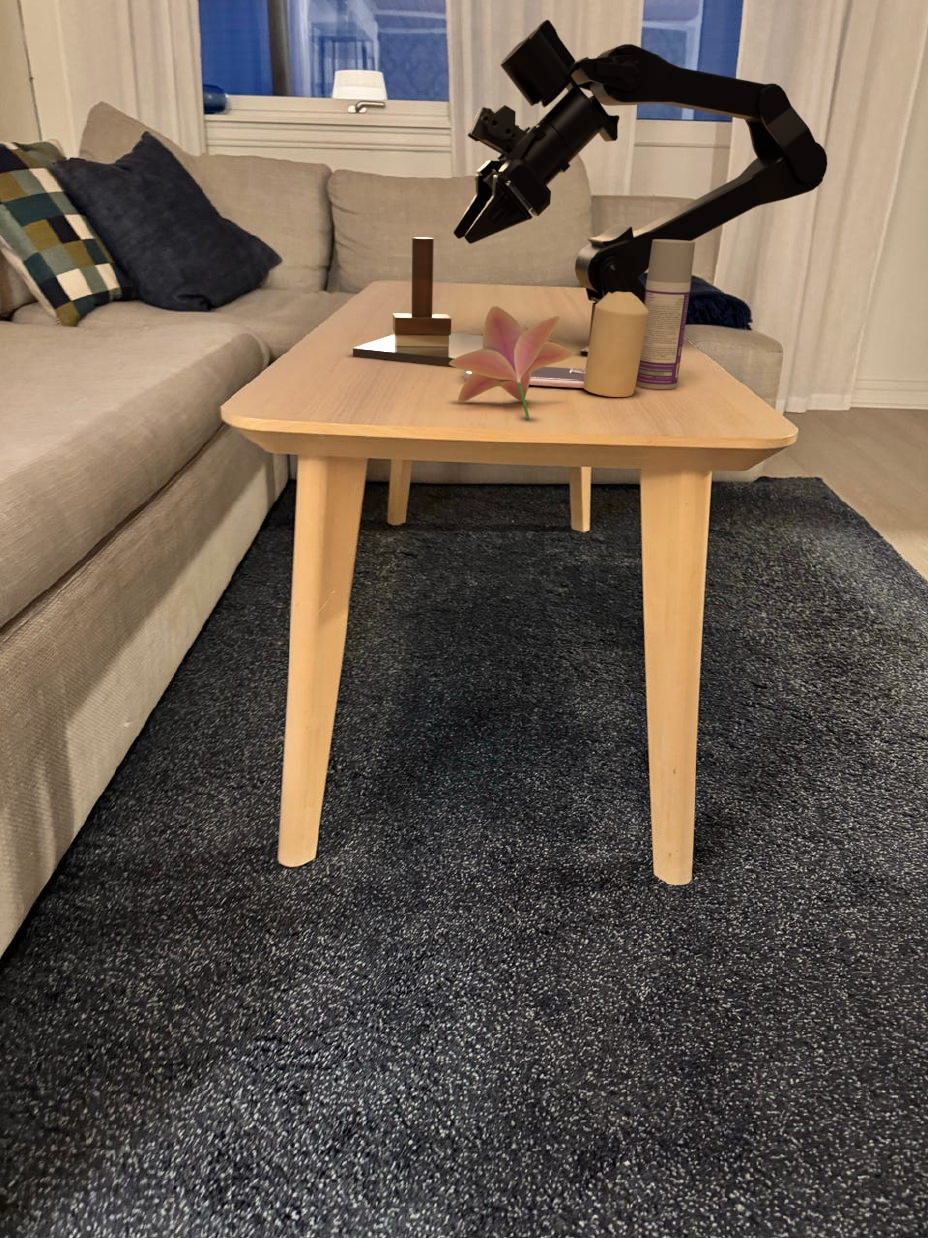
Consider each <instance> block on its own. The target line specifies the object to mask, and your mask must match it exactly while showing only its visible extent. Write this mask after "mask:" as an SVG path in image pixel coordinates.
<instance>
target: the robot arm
mask: <svg viewBox="0 0 928 1238" xmlns="http://www.w3.org/2000/svg"><path fill="white" fill-rule="evenodd" d="M499 66H500V67H501V69H503V71H504V73H505V74H506V76H508V78H509V79H510V80H511V82H512V83H513V84H514V86H515V87H516V88H517V90H518V91H519V92H520V94H521V95H522V96H523V97H524V99H525V100H526V102H528V104H529V105H530V107H533V106H535V105H538V104H539V103H540V105H541V106H542V107H543V108H547V107H548V106H549V105H551V103H552V102H554V101H555V100H556V99H557V98H558V97H559V96H560V95H561V94H562V93H563V92H564V91H565V89H566V90H567V92H566V93H565V94H563V96H562V97H561V98H560V99H559V100H558V101H557V102H556V103H555V104H554V106H552V107H551V109H550V110H549V111H548V112H547V113H546V114H545V115H544V116H543V117H542V118H541V119H540V120H539V121H538V122H537V123H536V124H535V125H532V126H527V127H525V129H522V128H520V125H518V124H516V114H517V113H516V110H514V109H513V108H511V107H509V106H508V105H505V104H504V105H501V106H500V107H499V108H497V109H496V110H495V111H493V109H492V108H490V107H485V106H483V107H480V108H478V110H477V112H476V115H475V117H474V119H473V121H472V123H471V126H470V128H469V131H468V133H467V137H468V138H470V139H471V140H473V141H474V142H480V143H481V144H483V145H485V146H486V147H488V148H490V149H492V150H493V151H495V152H497V153H499V155H498V156H497V157H496V158H497V160H486V161H485V162H484V163H483V164H482V165H481V166H480V167H479V168H478V169H477V170H476V174H475V177H474V181H475V194H474V197H473V198H472V199H471V201H470V203H469V205H468V206H467V208H466V210H465V212H464V213H463V215H462V217H461V218H460V220H459V222H458V223H457V225H456V226H455V228H454V230H453V231H452V232H453V235H454V236H455V237H456V238H457V239H458V240H460V239H462V238H464V239H465V241H466V242H467V243H468V244H470V245H472V244H474V243H478V242H479V241H482V240H484V239H486V238H488V237H490V236H494V235H495V234H498V233H500V232H502V231H504V230H507V229H511V228H512V227H515V226H517V225H519V224H522V223H524V222H527V221H530V220H532V219H533V218H534V217H533V216H535V217H540V215H541V214H542V213H543V212H544V211H545V210H546V209H547V208H548V207H549V206H550V205H551V199H552V191H551V189H550V188H549V187H548V185H549V184H550V183H551V182H552V181H553V180H554V179H555V178H556V177H557V176H558V175H559V174H560V173H566V171H567V170H568V169H569V168H570V167H571V165H570V163H571V161H573V159H574V158H576V156H578V154H579V153H581V152H582V150H583V149H585V147H587V145H588V144H589V143H590V142H591V141H592V140H593V139H594V138H596V136H597V135H599V136H600V137H601V138H602V140H603V141H604V142H616V141H617V140H618V139H619V133H618V131H619V129H618V128H619V127H618V126H619V121H620V116H619V115H618V114H616V115H611V114H609V113H608V112H607V110H606V109H605V108H604V107H603V105H604V106H608V107H614V106H615V107H618V106H644V105H665V106H666V105H667V106H671V107H676V108H682V109H687V110H692V111H693V110H694V111H697V112H702V113H708V114H713V115H719V116H724V117H730V118H734V119H735V118H736V119H740V120H744V121H745V123H746V125H747V127H748V131H749V136H750V141H751V146H752V150H753V152H754V155H756V158H755V159H753V161H751V162H750V164H749V165H748V166H747V167H746V168H745V169H744V170H743V171H742V172H741V173H740V174H739V175H738V176H737V177H735V178H733V179H732V180H730V181H728V182H726V183H724V184H722V185H721V186H718V187H717V188H715V189H713V190H711V191H708V193H705V194H704V195H702V196H700V197H698V198H696V199H694V200H693V201H690V202H689V203H687V204H685V205H683V206H681V207H679V208H678V209H676V210H673V211H672V212H670V213H668V214H666V215H664V216H662V217H660V218H659V219H656V220H655V221H653V222H651V223H649V224H647V225H645V226H643V227H642V228H640V229H637V230H633V227H632V226H631V225H630V226H629V225H624V224H619V223H617V224H614V225H613V226H611V227H610V228H608V229H607V230H605V231H604V232H603V233H601V234H600V235H597V236H593V237H592V236H591V237H587V241H588V242H589V243H588V244H586V245H585V246H583V247H582V248H581V249H580V250H579V252H578V253H577V257H576V260H575V263H574V272H575V276H576V278H577V280H578V282H579V283H580V285H582V286H583V287H584V288H585V292H586V296H587V300H588V301H590V302H592V303H591V312H590V323H589V335H588V345H587V346H585V347H584V348H583V349H581V350H580V355H583V356H588V350H589V343H590V337H591V330H592V323H593V317H594V310H595V305H596V304H597V303H598V302H599V301H600V300H601V299H602V298H604V297H605V296H606V295H607V294H608V292H610V293H612V294H613V293H614V292H631V293H632V294H634V295H635V296H636V297H638V298H639V300H640V301H641V302H642V303H643V304H644V299H645V290H646V286H645V285H644V284H643V283H642V282H641V280H640V279H639V278H641V277H642V276H643V275H644V274H645V273H646V271H648V269H649V262H650V255H651V247H652V240H656V239H665V240H685V241H694V240H696V239H698V238H700V237H702V236H703V235H706V234H708V233H709V232H712V231H713V230H715V229H717V228H719V227H721V226H723V225H724V224H727V223H729V221H731V220H734V219H736V218H738V217H740V216H741V215H743V214H745V213H747V212H749V211H752V210H753V209H755V208H757V207H760V206H763V205H766V204H771V203H775V202H780V201H784V200H787V199H791V198H794V197H797V196H801V195H804V194H807V193H809V192H812V191H814V190H815V189H817V187H819V186H820V185H821V184H822V183H823V181H824V178H825V175H826V173H827V169H828V155H827V153H826V150H825V148H824V146H822V144H820V143H819V142H817V141H816V140H815V138H814V135H813V133H812V131H811V129H810V127H809V126H808V125H807V124H806V122H805V121H804V120H803V118H802V117H801V116H800V114H799V113H798V111H796V110H795V108H794V107H793V106H792V103H791V102H790V100H789V97H788V95H787V93H786V92H785V90H784V89H783V87H781V85H779V84H777V83H775V82H774V83H773V82H772V83H761V82H756V81H751V80H747V79H741V78H736V77H731V76H726V75H720V74H716V73H711V72H705V71H700V70H695V69H690V68H686V67H685V68H684V67H680V66H677V65H676V64H673V63H671V62H669V61H668V60H667V59H665V58H663V57H661V56H660V55H659V54H657V53H653V52H652V51H649V50H647V49H645V48H643V47H640V46H638V45H637V44H631V43H624V44H621V45H618V46H615V47H613V48H610V49H608V50H605V51H602V53H600V54H599V55H598V56H597V57H595V58H589V57H588V56H586V57H583V58H580V59H579V60H576V59H575V58H574V56H573V55H572V54H571V51H569V49H568V48H567V46H566V45H565V44H564V42H563V41H562V40H561V38H560V36H559V34H558V32H557V29H556V28H555V26H554V25H553V24H552V21H550V19H546V20H544V21H542V22H541V23H540V24H539V25H538V26H537V27H536V28H535V29H534V31H532V32H531V33H530V34H529V35H528V36H526V38H524V39H523V40H521V41H520V42H519V43H517V44H516V45H515V46H514V47H513V48H512V50H511V51H509V53H508V54H507V55H506V56H505V57H504V59H503V60H502V61H501V62H500V64H499ZM583 90H585V91H589V92H591V94H592V95H591V96H587V94H585V92H584V91H583ZM532 215H533V216H532Z"/></svg>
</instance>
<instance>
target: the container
mask: <svg viewBox="0 0 928 1238" xmlns="http://www.w3.org/2000/svg"><path fill="white" fill-rule="evenodd" d="M695 249H696V242H695V241H694V240H692V241H685V240H665V239H656V240H652V247H651V255H650V262H649V268H648V269H647V278H646V282H645V283H646V284H645V288H646V290H645V299H644V305H645V306H646V308H647V309H648V311H649V313H648V319H647V324H646V330H645V336H644V341H643V347H642V352H641V358H640V363H639V369H638V374H637V380H636V385H635V386H637V387H640V388H644V389H649V390H650V389H651V390H673V389H676V388H677V387H678V381H679V374H680V367H681V360H682V353H683V344H684V337H685V330H686V322H687V315H688V308H689V300H690V293H691V283H692V276H693V275H692V274H693V265H694V257H695Z"/></svg>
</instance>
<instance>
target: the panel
mask: <svg viewBox="0 0 928 1238" xmlns="http://www.w3.org/2000/svg"><path fill="white" fill-rule="evenodd" d="M482 337H483V335H478V334H469V333H468V334H467V333H457V332H451V335H449V347H400V346H396V344H395V334H391V335H389V336H386V337H385V336H384V337H382V338H380V339H376V340H373V341H370V342H367V343H364V344H360V345H358V346H355V347H352V357H357V358H366V359H377V360H383V361H395V362H403V363H412V364H413V363H414V364H422V365H423V364H424V365H431V366H442V367H451V368H455V367H454V366H451V365H450V364H449V362H450V361H451V360H453V359H455V358H457V357H459V356H462V355H464V354H467V353H470V352H473V351H477V350H482V349H483V344H482Z"/></svg>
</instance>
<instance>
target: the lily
mask: <svg viewBox="0 0 928 1238" xmlns="http://www.w3.org/2000/svg"><path fill="white" fill-rule="evenodd" d="M560 320H561V316H560V315H557V316H556V315H555V316H553V317H549V318H547V319H545V320H543V321H541V322H539V323H537V324H535V325H533V326H531V327H530V328H528V329H526V330H524V328H523V327H522V325H521V324H520V323H519V322H518V321H517V320H516V319H515V317H514V316H512V315H511V314H510V313H508V312H507V311H505V309H503V308H501V307H500V306H492V307H491V308H490V309H489V311H488V313H487V315H486V317H485V321H484V325H483V330H482V336H483V337H482V344H483V349H482V350H477V351H473V352H470V353H467V354H464V355H462V356H459V357H457V358H455V359H453V360H451V361H450V362H449V364H450V365H451V366H454V367H453V368H457V369H459V370H463V371H465V372H466V371H469V372H472V373H471V374H470V375H469V376H468V378H467V379H465V381H464V383H463V385H462V387H461V389H460V392H459V394H458V398H457V402H458V404H462V403H465V402H467V401H469V400H471V399H473V398H475V397H477V396H478V395H481V394H483V393H485V392H487V391H489V390H492V389H494V388H497V387H499V386H500V387H501V388H502V389H503V390H504V391H505V392H506V393H508V394H509V395H510V396H512V397H513V398H514V399H516V400H518V401H520V402H522V406H523V409H524V410H523V411H524V415H525V418H526V419H525V420H530V415H529V410H528V406H527V402H526V396H527V393H528V390H529V387H530V385H529V383H530V378H531V372H533V371H535V370H537V369H540V368H542V367H548V366H551V365H553V364H556V363H559V362H564V361H565V360H568V359H570V358H571V357H573V356H574V354H573V352H572V351H571V350H570V349H568V348H566V347H564V346H562V345H560V344H557V343H555V342H551V341H548V340H549V338H550V336H551V335H552V333H553V331H554V330H555V328H556V327H557V325H558V323H559V321H560Z"/></svg>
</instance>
